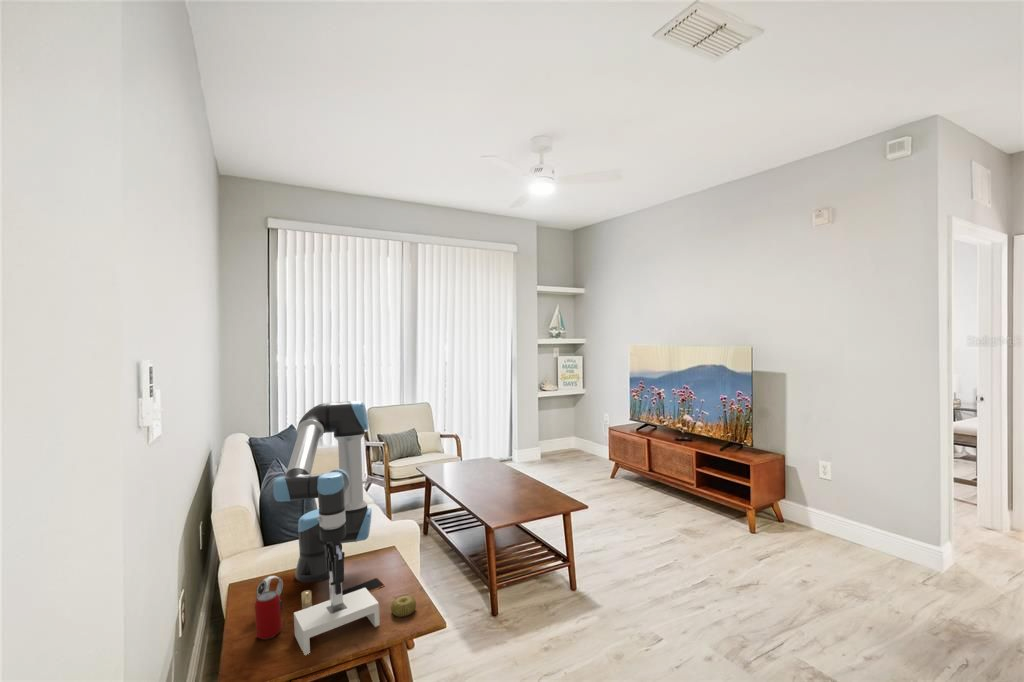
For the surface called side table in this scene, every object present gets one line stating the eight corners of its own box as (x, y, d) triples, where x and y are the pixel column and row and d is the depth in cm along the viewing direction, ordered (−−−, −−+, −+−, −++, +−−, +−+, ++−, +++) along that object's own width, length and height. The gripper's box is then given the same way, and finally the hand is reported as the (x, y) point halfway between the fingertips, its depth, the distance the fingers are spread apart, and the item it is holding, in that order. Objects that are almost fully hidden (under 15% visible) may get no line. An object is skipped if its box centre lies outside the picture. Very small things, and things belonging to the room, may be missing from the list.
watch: (254, 614, 158) (253, 581, 158) (278, 602, 165) (276, 570, 165) (263, 619, 155) (261, 585, 155) (287, 607, 162) (285, 574, 161)
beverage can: (281, 625, 151) (279, 587, 151) (281, 636, 145) (279, 597, 145) (256, 632, 148) (254, 593, 148) (256, 644, 142) (254, 603, 142)
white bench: (294, 635, 146) (293, 612, 145) (366, 608, 159) (365, 587, 159) (304, 655, 136) (303, 631, 136) (379, 625, 149) (378, 602, 149)
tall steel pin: (330, 612, 148) (328, 570, 147) (340, 609, 149) (338, 567, 149) (333, 617, 145) (331, 574, 145) (343, 613, 147) (341, 571, 147)
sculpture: (402, 591, 161) (421, 596, 157) (402, 603, 161) (421, 608, 157) (385, 603, 154) (404, 609, 150) (385, 615, 154) (405, 621, 150)
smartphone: (331, 596, 168) (331, 593, 168) (377, 579, 178) (377, 577, 178) (338, 605, 162) (338, 602, 162) (385, 587, 172) (385, 585, 172)
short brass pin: (301, 613, 157) (300, 592, 157) (311, 609, 159) (309, 588, 159) (303, 617, 155) (302, 595, 155) (313, 613, 157) (312, 592, 157)
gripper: (313, 521, 151) (316, 595, 151) (327, 536, 138) (331, 617, 139) (337, 514, 155) (341, 587, 156) (353, 529, 143) (357, 607, 143)
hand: (336, 601), depth 147 cm, fingers closed on tall steel pin, 2 cm apart
